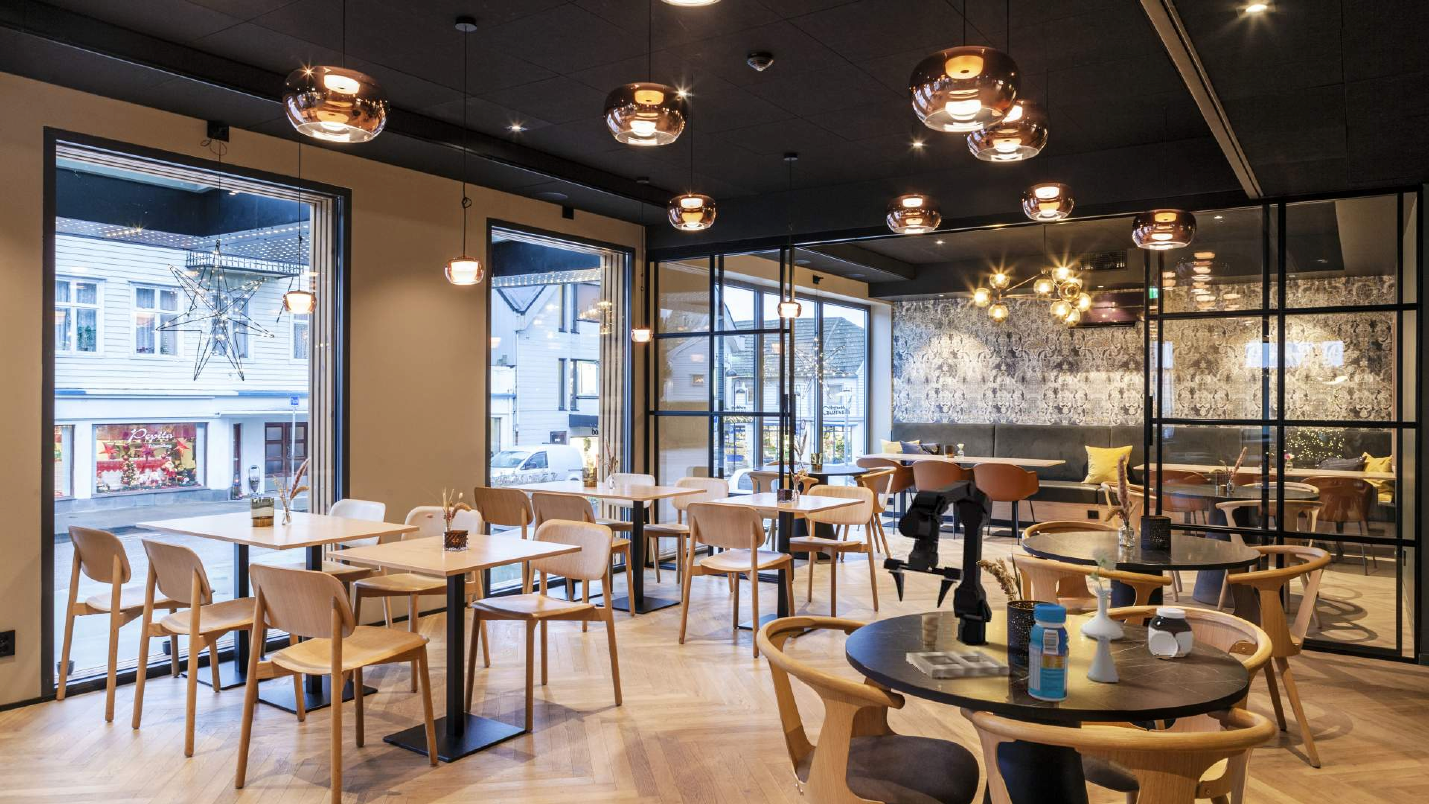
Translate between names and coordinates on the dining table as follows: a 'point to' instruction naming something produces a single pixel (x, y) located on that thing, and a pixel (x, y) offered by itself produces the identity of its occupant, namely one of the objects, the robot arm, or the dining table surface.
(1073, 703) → the dining table surface
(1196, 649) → the dining table surface
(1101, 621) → the flower in vase
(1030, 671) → the beverage bottle
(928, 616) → the peg
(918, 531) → the robot arm
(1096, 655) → the flask
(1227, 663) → the dining table surface
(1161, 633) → the spread jar
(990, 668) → the board
